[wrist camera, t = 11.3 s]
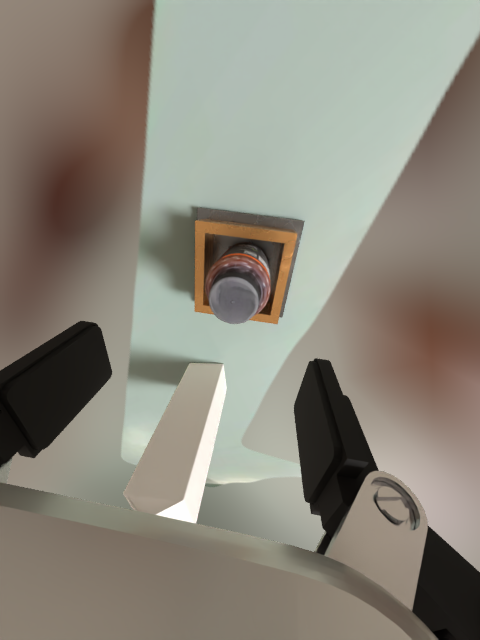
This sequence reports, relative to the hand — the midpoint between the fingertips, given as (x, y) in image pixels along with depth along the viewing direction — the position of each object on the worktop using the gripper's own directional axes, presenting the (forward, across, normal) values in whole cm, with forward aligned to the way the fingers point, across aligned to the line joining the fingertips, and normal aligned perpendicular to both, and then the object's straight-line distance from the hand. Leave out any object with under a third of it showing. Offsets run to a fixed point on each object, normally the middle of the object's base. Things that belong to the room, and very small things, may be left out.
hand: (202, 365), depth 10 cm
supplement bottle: (+19, 0, 0) cm, 19 cm away
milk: (+20, +4, +21) cm, 29 cm away
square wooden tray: (+20, 0, +1) cm, 20 cm away
